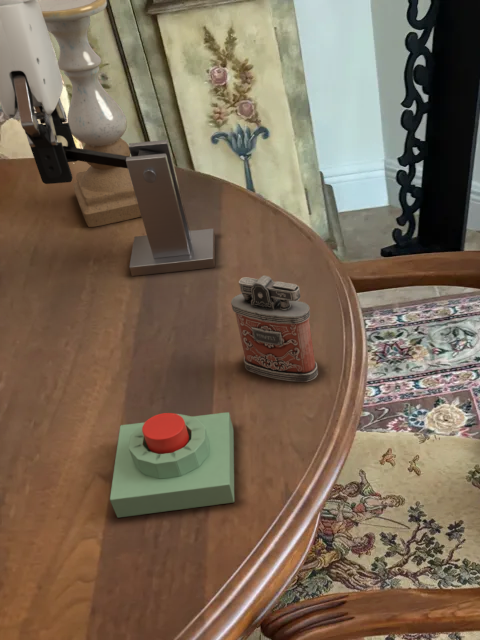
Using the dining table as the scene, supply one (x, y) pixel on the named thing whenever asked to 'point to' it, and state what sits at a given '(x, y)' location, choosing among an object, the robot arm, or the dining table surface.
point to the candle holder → (91, 114)
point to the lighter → (275, 330)
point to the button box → (175, 469)
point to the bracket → (164, 217)
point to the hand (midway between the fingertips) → (61, 169)
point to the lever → (97, 155)
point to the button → (165, 433)
